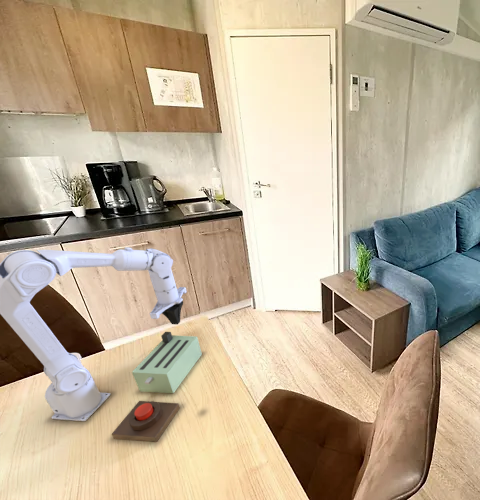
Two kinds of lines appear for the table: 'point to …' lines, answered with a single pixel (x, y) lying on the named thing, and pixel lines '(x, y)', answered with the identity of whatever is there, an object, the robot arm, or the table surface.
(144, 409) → the button
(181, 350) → the toaster
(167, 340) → the browning slider
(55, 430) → the table surface
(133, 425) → the button base
